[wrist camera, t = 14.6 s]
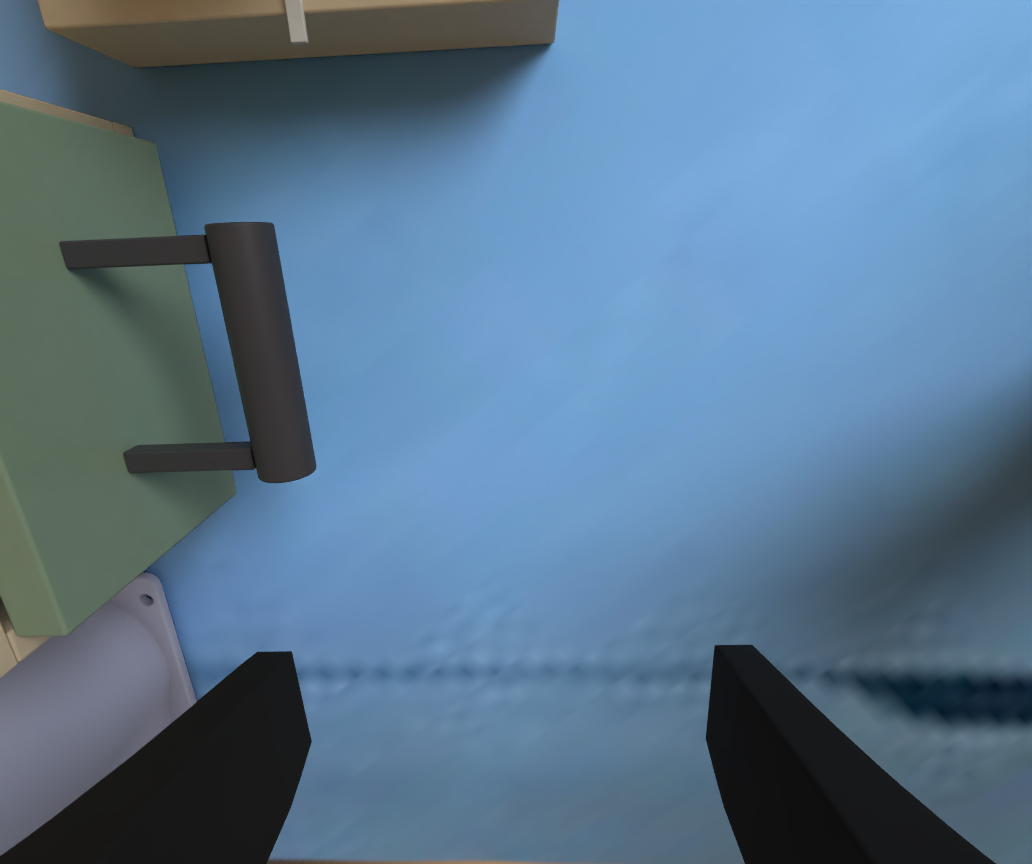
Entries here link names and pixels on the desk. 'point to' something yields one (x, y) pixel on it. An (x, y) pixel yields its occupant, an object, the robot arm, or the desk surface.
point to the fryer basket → (121, 369)
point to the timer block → (292, 27)
